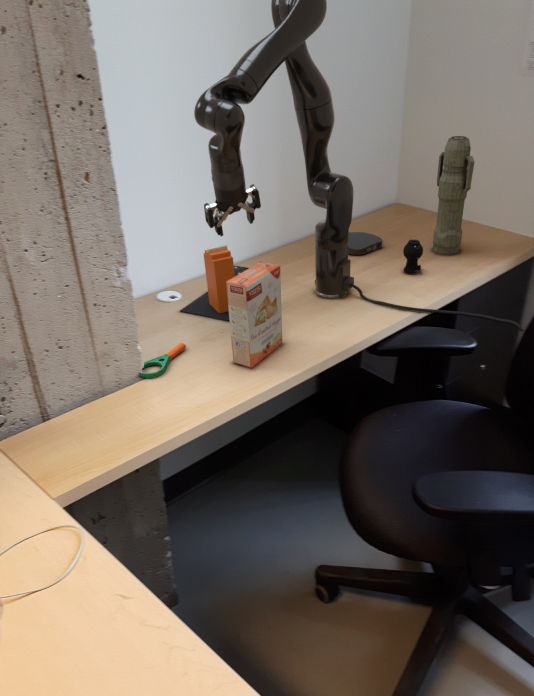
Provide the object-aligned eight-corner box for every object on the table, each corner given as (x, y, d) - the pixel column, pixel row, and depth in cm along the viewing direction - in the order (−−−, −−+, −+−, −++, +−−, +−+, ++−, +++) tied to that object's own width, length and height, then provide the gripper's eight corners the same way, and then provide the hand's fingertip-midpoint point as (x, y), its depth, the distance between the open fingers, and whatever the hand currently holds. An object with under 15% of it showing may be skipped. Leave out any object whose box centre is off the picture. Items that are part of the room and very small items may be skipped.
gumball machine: (425, 274, 181) (428, 243, 175) (407, 277, 180) (409, 245, 174) (416, 267, 186) (418, 235, 181) (398, 269, 185) (400, 238, 180)
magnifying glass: (152, 380, 136) (151, 374, 135) (133, 374, 139) (131, 368, 138) (193, 351, 147) (192, 345, 146) (174, 346, 150) (173, 340, 149)
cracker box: (253, 369, 139) (246, 286, 127) (232, 363, 141) (223, 281, 130) (284, 344, 148) (281, 264, 137) (264, 338, 151) (259, 259, 139)
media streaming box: (356, 236, 212) (356, 228, 210) (386, 246, 203) (387, 237, 201) (326, 247, 204) (326, 238, 203) (357, 257, 195) (357, 249, 193)
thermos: (455, 258, 191) (469, 142, 172) (423, 250, 198) (434, 138, 178) (468, 250, 196) (484, 136, 177) (437, 243, 203) (449, 133, 184)
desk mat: (266, 303, 168) (266, 302, 168) (241, 324, 158) (241, 322, 158) (207, 292, 176) (207, 291, 176) (180, 311, 166) (180, 310, 166)
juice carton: (202, 245, 159) (212, 253, 154) (221, 241, 161) (232, 249, 156) (209, 303, 169) (219, 313, 163) (227, 299, 171) (237, 309, 165)
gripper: (207, 199, 135) (216, 248, 150) (262, 176, 138) (266, 226, 153) (194, 179, 138) (204, 228, 153) (248, 157, 141) (253, 208, 156)
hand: (235, 227), depth 153 cm, fingers open, 8 cm apart
